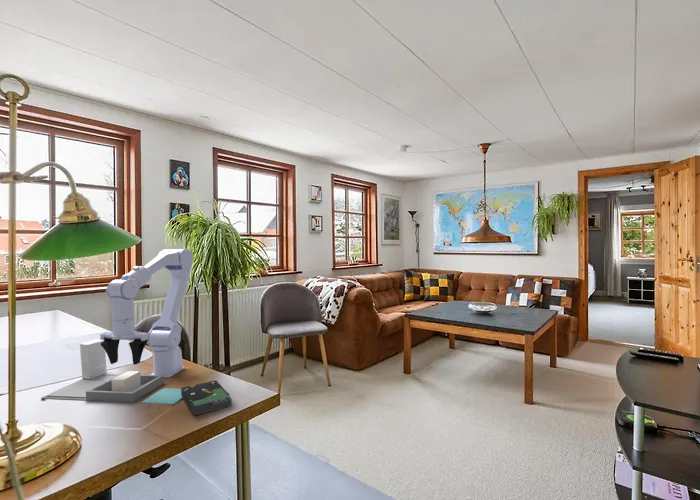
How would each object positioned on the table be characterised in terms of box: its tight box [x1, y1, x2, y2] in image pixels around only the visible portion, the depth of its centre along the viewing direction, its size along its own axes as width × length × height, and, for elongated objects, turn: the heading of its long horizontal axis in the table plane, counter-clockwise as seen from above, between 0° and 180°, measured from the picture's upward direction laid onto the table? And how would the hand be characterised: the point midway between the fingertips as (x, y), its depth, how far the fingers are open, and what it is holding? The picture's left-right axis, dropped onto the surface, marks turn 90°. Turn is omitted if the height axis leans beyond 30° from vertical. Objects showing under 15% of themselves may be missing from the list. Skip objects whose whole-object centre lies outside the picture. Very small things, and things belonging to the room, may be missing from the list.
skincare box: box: [79, 338, 107, 380], centre depth 131 cm, size 6×4×12 cm
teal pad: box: [140, 387, 184, 406], centre depth 112 cm, size 10×10×1 cm
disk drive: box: [180, 380, 232, 415], centre depth 108 cm, size 10×3×15 cm
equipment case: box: [40, 373, 165, 404], centre depth 117 cm, size 14×30×3 cm, turn 82°
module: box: [111, 370, 141, 392], centre depth 116 cm, size 7×4×5 cm, turn 172°
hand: (125, 363), depth 116 cm, fingers open, 7 cm apart
